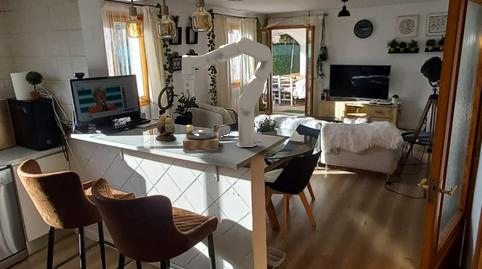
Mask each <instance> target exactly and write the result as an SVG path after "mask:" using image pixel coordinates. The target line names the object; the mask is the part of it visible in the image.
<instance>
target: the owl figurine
mask: <svg viewBox="0 0 482 269" xmlns="http://www.w3.org/2000/svg"><path fill="white" fill-rule="evenodd" d="M156 129H157V132H158V133H159V134H158V135H156V136H155V140H156V141H158V142H162V141H165V142H166V143H167V142H168V143H169V142H172V141H173V142H174V141H177V140H176V139H177V137H176V136H175V135H174V134H175V133H176V130H175V129H176V127H175V124H174V122H173V118H172V117H167V114H165V113H164V114H161V116H160V117H159V118H158V120H157V121H156ZM165 142H164V143H165Z"/></svg>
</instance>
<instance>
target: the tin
mask: <svg viewBox="0 0 482 269" xmlns="http://www.w3.org/2000/svg"><path fill="white" fill-rule="evenodd" d="M231 130H232V129H231V126H230V125H229V124H226V123H224V124H223V123H222V124H219V125H216V126H215V127H214V129H213V131H214V132H216V133H219V137H221V136H224V135H227V134H229V135H231Z"/></svg>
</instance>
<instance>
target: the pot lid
mask: <svg viewBox="0 0 482 269" xmlns="http://www.w3.org/2000/svg"><path fill="white" fill-rule="evenodd" d="M185 136H186V137H187V138H189V139H210V138H214V137H216V132H214V130H206V129H198V130H194V125H193V124H187V125H185Z"/></svg>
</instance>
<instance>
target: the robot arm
mask: <svg viewBox="0 0 482 269" xmlns="http://www.w3.org/2000/svg"><path fill="white" fill-rule="evenodd" d="M243 55H246V56H248V57H250V58H254V59H256V60H257V66H256V68H255V70H254V72H253V74H251V75H252V76H251V77H250V79H249V80H248V81H247V85H246V86H245V88H244V90H243V92H242V94H240V95H239V97H238V99H237V113H238V114H237V115H238V116H237V117H238V118H237V122H238V124H237V125H238V126H237V127H238V142H236V144H235V145H237V146H249V145H253V144H256V143H257V144H262V143H263V139H260V138H258V139H256V138H255V106H256V105H257V103H258V102H259V99H260V97H261V96H262V94H263V92H264V89H265V84H266V82H267V80H268V78H269V77H270V74H271V72H272V70H273V68H274V67H273V65H274V61H273V56H272V51H271V49H270V48H269V47H268V45H265V44H262V43H260V42H257V41H256V40H252V39H250V38H249V37H245V36H243V37H240V38H239V39H236V40H234V41H231V42H229V43H226V44H224V45H221V46H219V47H218V48H217V49H214V50H212V51H210V52H207V53H205V54H202V55H182V57H181V81H183V94H184V98H185V99H184V108H185V109H191V107H192V106H193V103H194V102H193V98H194V96H195V83H194V82H195V80H196V69H199V70H203V69H206V68H209V67H211V66H215V65H216V64H219V63H222V62H227V61H229V60H232V59H234V58H236V57H240V56H243ZM237 146H236V147H237Z"/></svg>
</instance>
